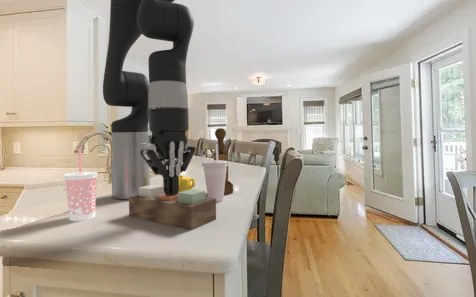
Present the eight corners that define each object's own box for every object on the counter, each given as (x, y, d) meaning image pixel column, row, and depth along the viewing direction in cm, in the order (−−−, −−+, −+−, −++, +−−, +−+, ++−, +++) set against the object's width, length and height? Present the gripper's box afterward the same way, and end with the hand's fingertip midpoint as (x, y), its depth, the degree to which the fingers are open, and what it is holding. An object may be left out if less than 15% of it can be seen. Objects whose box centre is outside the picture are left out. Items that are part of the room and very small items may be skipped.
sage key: (178, 208, 53) (177, 192, 53) (191, 204, 56) (190, 189, 56) (192, 211, 51) (192, 194, 51) (205, 206, 54) (205, 191, 54)
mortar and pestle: (232, 195, 76) (231, 127, 76) (208, 195, 77) (207, 128, 76) (233, 190, 83) (232, 128, 82) (211, 190, 83) (209, 128, 82)
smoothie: (225, 203, 67) (224, 144, 66) (199, 202, 68) (197, 144, 68) (231, 197, 73) (230, 143, 73) (207, 196, 75) (206, 143, 74)
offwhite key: (139, 201, 59) (139, 187, 59) (153, 198, 62) (152, 184, 62) (151, 203, 57) (150, 188, 57) (164, 200, 60) (164, 185, 60)
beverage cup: (82, 223, 54) (79, 149, 53) (57, 220, 56) (53, 149, 55) (106, 214, 60) (103, 147, 59) (82, 212, 62) (79, 147, 61)
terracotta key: (158, 210, 56) (157, 195, 56) (171, 206, 59) (171, 192, 59) (171, 212, 54) (170, 197, 54) (184, 208, 57) (183, 193, 57)
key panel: (129, 215, 59) (128, 196, 58) (155, 207, 64) (155, 190, 64) (191, 229, 49) (191, 206, 49) (216, 219, 55) (215, 198, 55)
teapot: (162, 196, 76) (162, 177, 76) (169, 192, 82) (168, 174, 82) (192, 196, 76) (191, 177, 75) (196, 192, 81) (196, 174, 81)
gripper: (178, 110, 63) (181, 187, 64) (127, 106, 52) (131, 199, 53) (205, 108, 59) (207, 190, 60) (155, 103, 48) (158, 204, 49)
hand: (171, 194), depth 57 cm, fingers closed
